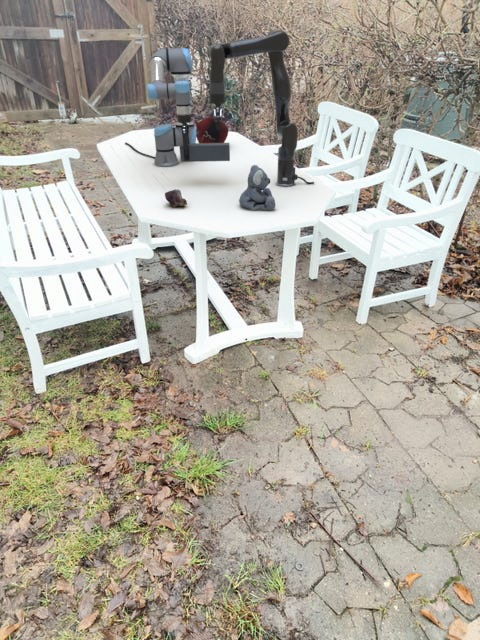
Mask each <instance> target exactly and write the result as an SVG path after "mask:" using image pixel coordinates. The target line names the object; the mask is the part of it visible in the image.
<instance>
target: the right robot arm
mask: <svg viewBox="0 0 480 640" xmlns="http://www.w3.org/2000/svg"><path fill="white" fill-rule="evenodd" d="M289 45H290V36H289V35H288V34H287V32H285V31H283V30H279V29H273V30H270V31H269V32H268V33H267V35H266V36H263V37H256V38H244V39H238V40H232V41H228V42H219V43H213V44H211V45H209V46H208V48H207V50H206V56H207V58H208V59H209V61H210V69H209V75H208V77H209V89H208V91H209V103H210V104H211V105H214V106H213V112H214V117H216V119H215V121H216V129H217V130H220V129H221V125H220V121H221V120H222V119H221V118H222V112H223V107H222V106H221V104H225V103H226V86H225V65H226V60H227V59H231V60H232V59H238V58H244V57H248V56H253V55H257V54H264V53H267V54H268V59H269V65H270V75H271V82H272V84H271V85H272V93H273V100H274V108H275V116H276V134H277V136H278V137H279V138H280V139H281V146H279V147H278V149H277V173H276V175H277V176H276V185H277V186H279V187H291V186H294V185H295V181H298V179H299V180H301V181H303V182H304V183H305V184H308V185H313V184H315V182H314V181H307V180H306V179H305V178H303V177H301V176H299V175H298V174H296V167H295V160H296V159H295V156H296V150H297V146H298V139H299V128H298V126H297V125H296V124H295V123H293V122H291V119H290V104H291V99H292V86H291V85H292V84H291V79H290V76H289V75H290V74H289V72H288V69H287V66H286V64H285V59H284V52H285V51H286V50H287V49H288V47H289Z"/></svg>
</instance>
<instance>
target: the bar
mask: <svg viewBox="0 0 480 640" xmlns="http://www.w3.org/2000/svg"><path fill="white" fill-rule="evenodd" d="M182 147H183V144H180V146H179V147H178V148H179V157H180V162H181V163H193V162H194V163H195V162H196V163H197V162H198V163H199V162H230V160H231V153H230V152H231V151H230V150H231V149H230V147H231V146H230V142H224V143H199V142H197V143H190V144H188V148H189V160H188V161H184V149H182Z"/></svg>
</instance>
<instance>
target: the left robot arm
mask: <svg viewBox="0 0 480 640" xmlns="http://www.w3.org/2000/svg"><path fill="white" fill-rule="evenodd" d="M192 61H193V60H192V56H191V52H190V49H188V48H187V47H186V48H183V47H179V48H177V47H175V48H172V47H171V48H160V49H158V50H156V51H155V52H154V53H153V54H152V55H151V57H150V58H149V63H148V66H149V70H150V73H151V74H150V81H151V82H150V83H148V84H147V85H146V88H147V97H148V99H149V100H156V101H159V100H175V105H176V106H175V107H176V117H177V121H176V123H175V126H173V125H172V124H168V123H166V124H161V125H158V126H156V127H155V128H154V129H153V133H154V134H153V136H154V142H155V143H154V145H155V155H154V156H153V155H150V154H146V153H143V152H141V151H139V150H138V149H136V148H135V147H134V146H132V145H131V144H130V143H129V142H124V144H125V145H127V146H129V147H130V148H131V149H132V150H134V151H135V152H136V153H137V154H140V155H142V156H145V157H148V158H152V159H154V165H155V166H157V167H163V168H164V167H165V168H167V167H168V168H169V167H174V166H177V165H178V164H179V159H178V157H177V153H176V151H175V148H176V147H178V148H180V147H179V146H180V144H183V147H182V149H184V161H188V160H189V148H188V144H190V143H196V142H197V138H196V125H195V122H193V121H192V120H193V119H192V109H193V107H192V106H191V105H192V103H191V87H190V82H189V81H190V80H189V79H190V78H189V77H190V76H191V75H192V74H191V72H192V71H194V69H193V68H194V67H193V62H192ZM165 72H170V74H171V76H172V78H173V79H174V81H173V83H171V82H170V83H168V82H167V83H166V73H165Z"/></svg>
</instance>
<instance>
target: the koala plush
mask: <svg viewBox="0 0 480 640" xmlns="http://www.w3.org/2000/svg"><path fill="white" fill-rule="evenodd" d="M270 183H271V178H269V176H268V175H267V173H266V172H265V170H264V169H263V168H261V167H259V165H257V164H253V165H250V170H249V173H248V176H247V188H246V189H245V190H244V191H243V192H242V193H241V194H240V197H239V199H238V203H239V204H240V206H241V207H242V208H246V209H247V210H252V211H255V210H261V211H272V210H274V209H275V208H276V200H275V198H274V196H273V194H272V191H271V188H270V187H268V186H269V185H270Z"/></svg>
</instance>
